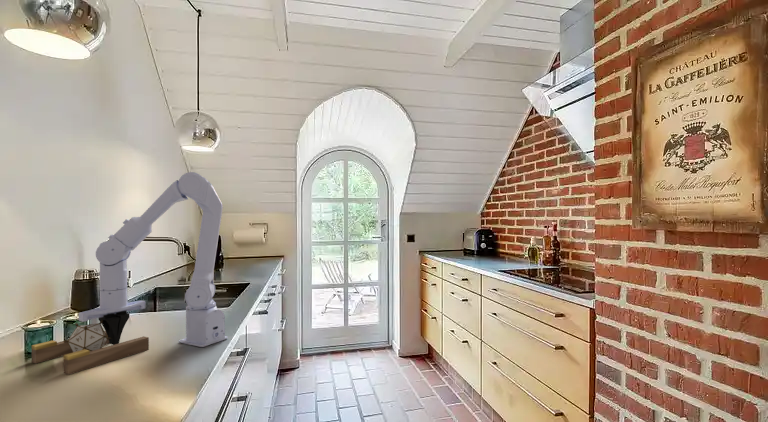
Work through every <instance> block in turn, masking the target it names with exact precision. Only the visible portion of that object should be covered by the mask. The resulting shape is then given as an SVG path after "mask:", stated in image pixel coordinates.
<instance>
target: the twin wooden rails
mask: <svg viewBox="0 0 768 422" xmlns="http://www.w3.org/2000/svg"><path fill="white" fill-rule="evenodd" d="M104 332H105V334H106V335H107V333H106V331H105V330H104ZM107 338H108V337H107ZM66 340H67V341H68V339H66ZM149 340H150V338H149V337H148V336H141V337H137V338H132V339H129V340H126V341H123V342H119V343H118V344H115V345H113V344H110V343H109V339H107V341H106V342H105V344H104V346H103V347H102V348H101V349H97V350H93V351H89V350H86V349H84V350H80V351H77V352H72V350H71V348H70V346H69V344H68V342H65V343H64V342H63V341H64V340H63V341H59V342H58V341H56V340H53V339H52V340H48V341H44V342H41V343H40V342H39V343H36V344H32V345H31V363H33V364H39V363H42V362H47V361H50V360H54V359H58V358H60V357H62V358H63V360H62V361H63V374H66V375H73V374H76V373H78V372H82V371H85V370H87V369H92V368H94V367H97V366H100V365H104V364H108V363H110V362H113V361H117V360H119V359H123V358H126V357H129V356H133V355H137V354H140V353H143V352H145V351H149V349H150V347H149V346H150V344H149V343H150V342H149ZM108 344H110V345H109V346H105V345H108Z"/></svg>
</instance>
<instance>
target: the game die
mask: <svg viewBox="0 0 768 422" xmlns="http://www.w3.org/2000/svg"><path fill="white" fill-rule="evenodd" d="M102 322H103V320H102V321H99V323H90V324H82V325H81V324H80V325H79V323H76V322H75V323H74V324H75V327H76V328H75V329H74V331H73V332H72V333H71V335H70V336H69V338H68V339H65V340H63V342H64V343H65V342H68V344H69V346H70V348H71V350H72V352H77V351H80V350H84V349H86V350H89V351H93V350H97V349H101V348H104V347H105V345H106V344H105V342H106V341H107V339H109V340H110V339H111V338H110V337H108V335H106V334H105V332H104V331H105V329H104V327H103V325H102V324H101V323H102ZM107 337H108V338H107ZM67 340H68V341H67ZM104 344H105V345H104Z"/></svg>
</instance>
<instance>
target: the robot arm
mask: <svg viewBox="0 0 768 422" xmlns="http://www.w3.org/2000/svg"><path fill="white" fill-rule="evenodd" d="M189 199H190V200H192V201H194V202H195V203H196V205H197V206H198V207H199V208H200V209H201V210H202V215H201V224H200V228H199V229H200V230H199V236H198V242H197V243H198V244H197V250H196V256H195V264H194V270H193V273H192V277H191V279H190V280H191V281H190V286H189V287H188V289H187V290H186V291H185V294H184V300H185V303H186V305H185V323H186V324H185V335H186V336H185V338H182V339H179V340H178V343H182V344H185V345H190V346H194V347H200V348H204V347H208V346H210V345H212V344H216V343H218V342H222V341H225V340H227V339H228V336H226V319H225V317H226V316H225V314H224V312H223V310H222V309H219V308H218V307H217V302H215V300H214V299H213V297H214V296H215V293H216V285H215V282H214V278H215V277H214V276H215V274H214V273H215V272H214V270H215V263H216V257H217V250H218V242H219V236H220V230H221V222H222V215H223V209H224V207H223V206H224V205H223V203H222V201H221V199H220V197H219V195H218V193H217V191H216V190H215V187H214V185H213V184H212V183H211V182H210V181H209V180H208V179H207V178H206V177H205V176H202V175H201V174H200V173H198V172H195V171H188V172H185V173H184V174H182V175H181V176H180V178H179V179H178V180H175V181H174V182H172V184H170V185H169V186H168V187H167V188H166V189H165V191H164V192H162V194H161V195H160V196H159V197H157V199H156V200H155V201H154V202H153V203H152V204H151V205H150V206H149V207H148V208H147V209H146V210H145V211H144V212H143V213H142V214H141V215H140V216H132V217H131V218H127V219H125V220H124V221H122V224H123V225H122V226H121V227H120V228H119V229H118V230H117V231H116V232H115V233H114V234H110V235H108V239H109V240H105V241H102V242H101V243H100V244H99V246H98V247H97V248H96V251H95V258H96V260H97V261H98V262H99V307H96V308H93V309H89V310H85V311H82V312H78V321H79V322H81V323H83V322H88V321H90V320H94V319H98V321H99V322H100V321H102V320H103V322H102V323H101V326H102V328H103V330H104V331H106V333H107V335H108V337H110V338H111V339H110V340H109V344H110V345H115V344H118V343H120V340H121V336H122V334H123V330H124V327H125V325H126V324H127V322H128V320H129V319H130V313H128V312H131V311H136V310H143V309H146V301H145V300H136V301H130V302H129V301H128V264H127V261H128V259H129V258H130V256H131V254H132V253H131V251H134V250H135V249H136V248H137V247H138V246H139V245H140V244H141V243H142V242H143V241H144V240H145V239H146V238H147V237H148V236H150V234H151V233H152V232H153V231H152V230H153V229H152V227H153V226H152V225H153V224H154V223H155V222H156V221H157V220H158V219H160V217H162V216H163V215H164V214H165V213H166V212H167V211H168V210H170V208H171V207H173V206H174V205H175V204H176V203H181V202H183V201H187V200H189Z"/></svg>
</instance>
